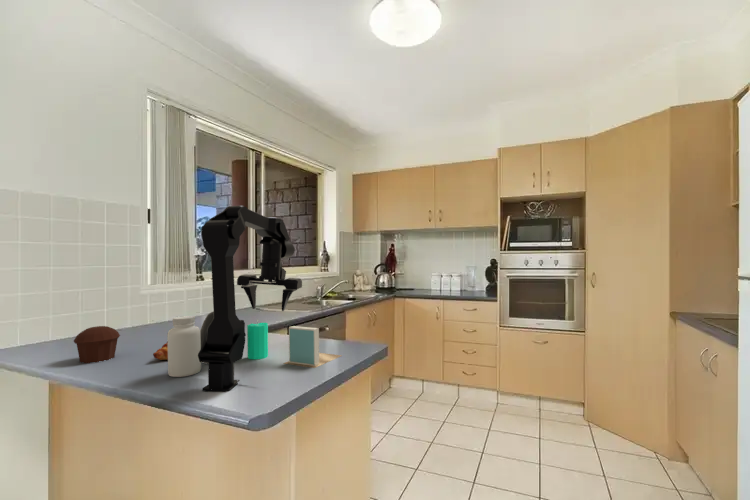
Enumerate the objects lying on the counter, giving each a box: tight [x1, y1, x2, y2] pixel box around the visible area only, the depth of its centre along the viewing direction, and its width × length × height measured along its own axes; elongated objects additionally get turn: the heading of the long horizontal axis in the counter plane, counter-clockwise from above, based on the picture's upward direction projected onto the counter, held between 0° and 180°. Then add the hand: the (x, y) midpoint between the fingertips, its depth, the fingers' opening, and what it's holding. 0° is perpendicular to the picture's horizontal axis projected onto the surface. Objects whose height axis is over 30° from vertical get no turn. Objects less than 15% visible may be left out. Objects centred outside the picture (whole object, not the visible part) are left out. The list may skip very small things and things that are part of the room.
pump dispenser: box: [200, 310, 229, 366], centre depth 111 cm, size 10×10×15 cm
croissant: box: [152, 340, 168, 361], centre depth 122 cm, size 21×10×8 cm, turn 160°
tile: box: [288, 325, 320, 366], centre depth 107 cm, size 2×9×10 cm, turn 63°
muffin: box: [73, 325, 121, 364], centre depth 118 cm, size 12×11×10 cm
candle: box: [246, 318, 269, 360], centre depth 115 cm, size 6×6×12 cm
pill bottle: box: [167, 315, 202, 378], centre depth 101 cm, size 8×8×15 cm
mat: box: [283, 352, 343, 369], centre depth 111 cm, size 14×11×1 cm
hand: (268, 309), depth 116 cm, fingers open, 9 cm apart
